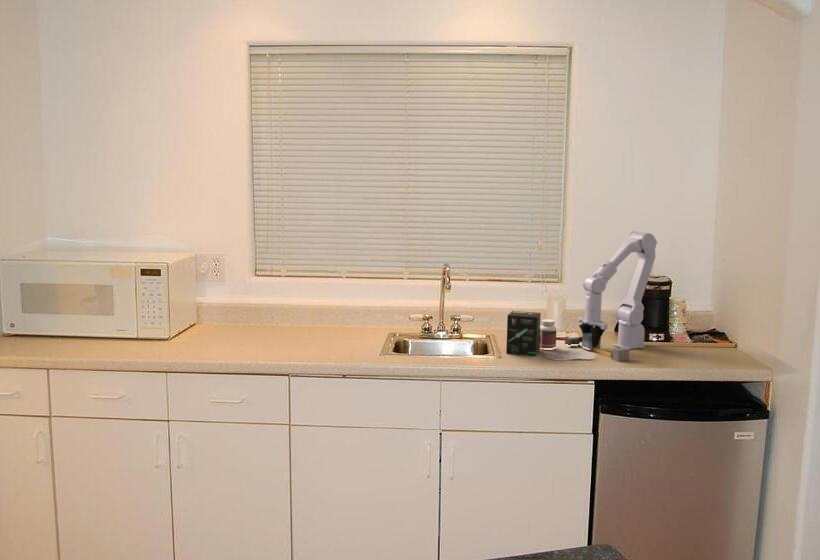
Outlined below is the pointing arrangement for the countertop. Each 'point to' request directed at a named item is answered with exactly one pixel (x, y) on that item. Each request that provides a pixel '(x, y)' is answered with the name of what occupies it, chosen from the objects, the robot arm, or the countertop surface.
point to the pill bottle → (547, 334)
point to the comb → (573, 340)
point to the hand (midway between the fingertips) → (591, 344)
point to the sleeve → (589, 341)
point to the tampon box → (523, 333)
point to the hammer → (615, 353)
